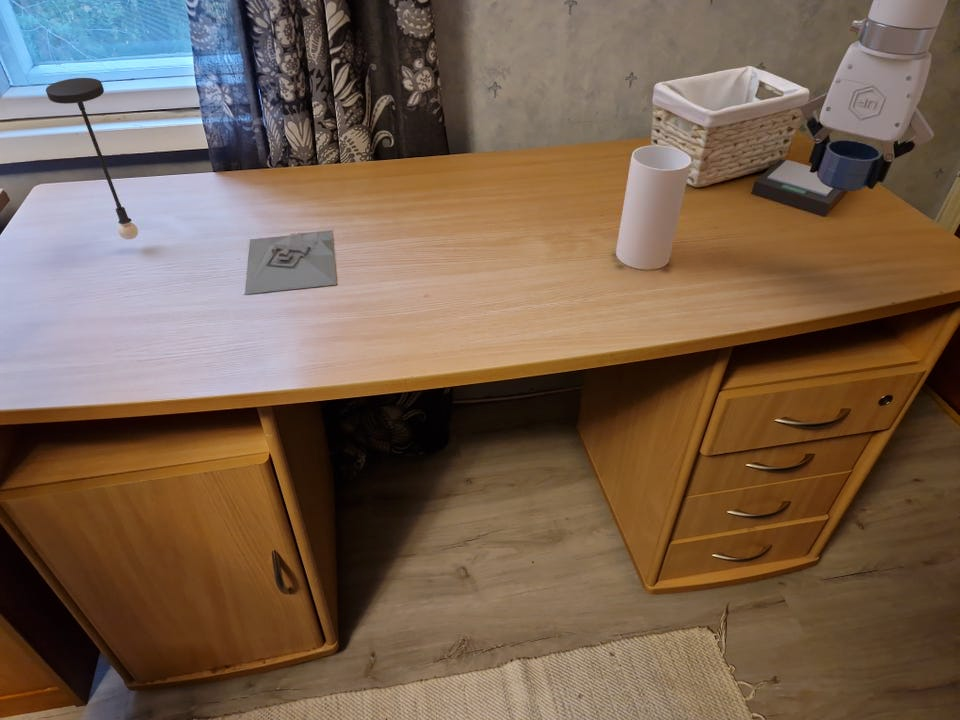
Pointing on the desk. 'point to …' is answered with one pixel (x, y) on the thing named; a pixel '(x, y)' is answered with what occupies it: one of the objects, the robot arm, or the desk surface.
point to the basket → (727, 121)
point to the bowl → (847, 164)
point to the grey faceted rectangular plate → (290, 262)
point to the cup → (652, 206)
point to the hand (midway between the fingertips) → (843, 176)
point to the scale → (797, 188)
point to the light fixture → (91, 132)
